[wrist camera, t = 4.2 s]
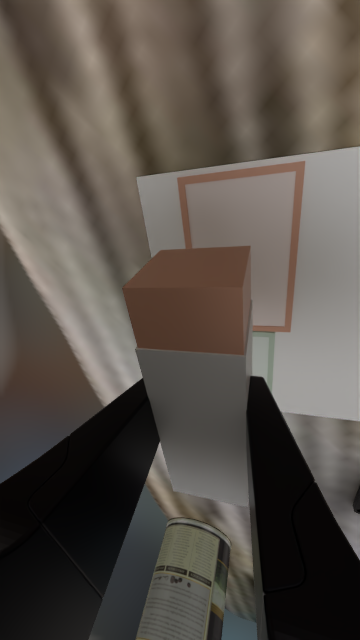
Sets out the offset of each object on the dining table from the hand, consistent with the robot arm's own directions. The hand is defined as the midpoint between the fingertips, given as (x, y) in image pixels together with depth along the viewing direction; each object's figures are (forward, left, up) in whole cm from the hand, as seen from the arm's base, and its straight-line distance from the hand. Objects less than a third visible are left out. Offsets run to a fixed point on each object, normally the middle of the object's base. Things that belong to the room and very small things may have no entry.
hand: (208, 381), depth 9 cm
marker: (0, 0, -1) cm, 1 cm away
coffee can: (-44, +7, -12) cm, 46 cm away
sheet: (-4, -2, -11) cm, 12 cm away
